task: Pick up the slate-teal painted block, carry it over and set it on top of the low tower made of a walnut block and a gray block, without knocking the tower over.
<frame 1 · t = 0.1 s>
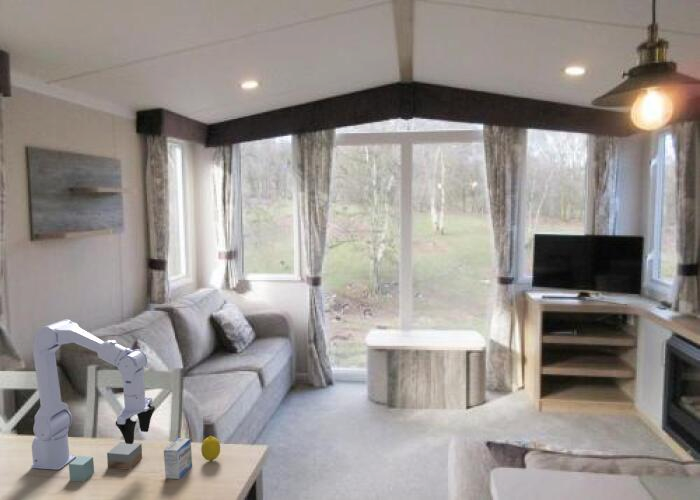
hand: (137, 437, 155), 10 cm above the table, tool pointing down, fingers open, 7 cm apart
medicine box: (179, 472, 155), on the table
gray block: (125, 455, 160), point 2 cm above the table, touching walnut block
walnut block: (125, 463, 161), on the table, touching gray block
lemon: (211, 461, 160), on the table
teal block: (82, 476, 153), on the table
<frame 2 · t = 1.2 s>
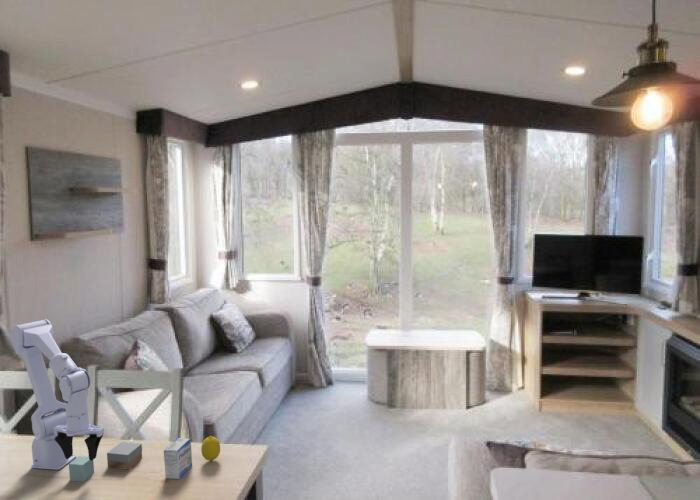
hand: (81, 458, 152), 6 cm above the table, tool pointing down, fingers open, 7 cm apart
gray block: (125, 456, 160), point 2 cm above the table
walnut block: (125, 464, 161), on the table
everything else where it was.
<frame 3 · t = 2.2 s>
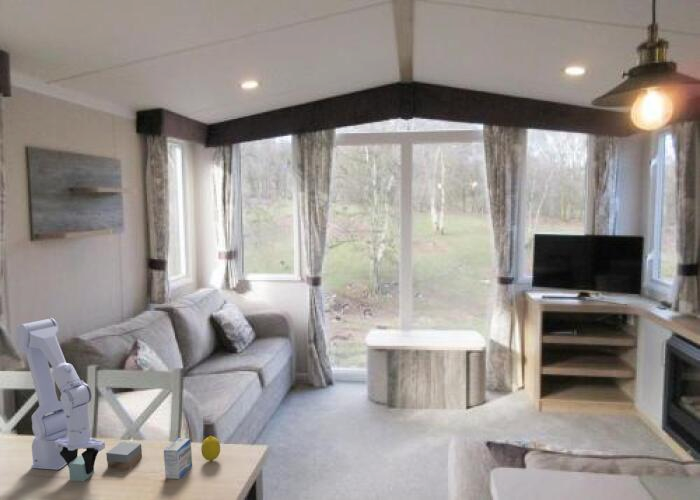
hand: (81, 471, 153), 1 cm above the table, tool pointing down, fingers closed on teal block, 4 cm apart
teal block: (82, 476, 153), on the table, touching gripper
everything else where it was.
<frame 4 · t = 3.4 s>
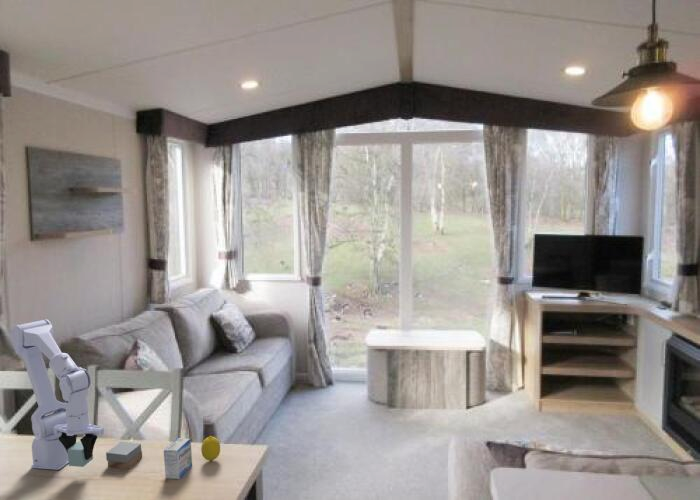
hand: (80, 457, 152), 6 cm above the table, tool pointing down, fingers closed on teal block, 4 cm apart
gray block: (124, 455, 160), point 2 cm above the table, touching walnut block
walnut block: (125, 463, 161), on the table, touching gray block
teal block: (81, 462, 152), point 4 cm above the table, touching gripper
everything else where it was.
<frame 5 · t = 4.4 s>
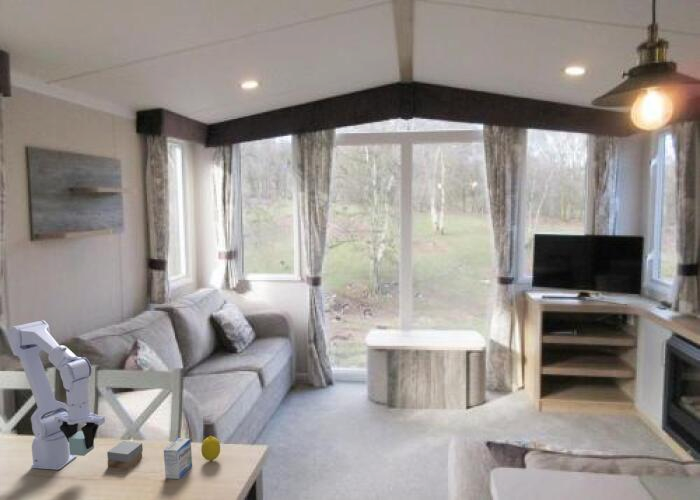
hand: (81, 446, 152), 9 cm above the table, tool pointing down, fingers closed on teal block, 4 cm apart
teal block: (82, 451, 152), point 7 cm above the table, touching gripper
everything else where it was.
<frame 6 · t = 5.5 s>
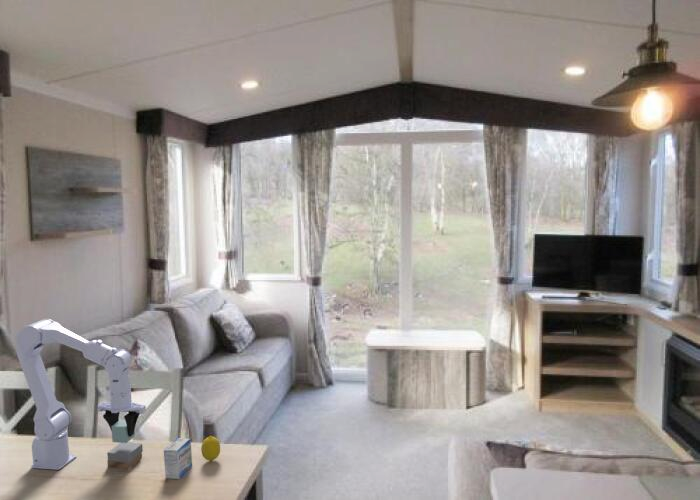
hand: (123, 434, 159), 9 cm above the table, tool pointing down, fingers closed on teal block, 4 cm apart
gray block: (125, 455, 160), point 2 cm above the table
walnut block: (125, 463, 161), on the table
teal block: (123, 439, 160), point 7 cm above the table, touching gripper
everything else where it was.
when the fingers open (8 cm above the table, at t = 6.5 s): teal block drops 2 cm, resting on gray block.
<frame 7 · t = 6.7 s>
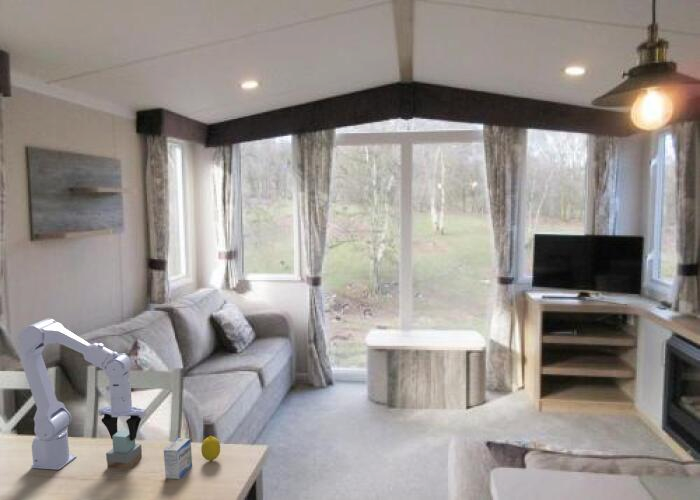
hand: (123, 438, 160), 8 cm above the table, tool pointing down, fingers open, 6 cm apart
gray block: (124, 456, 160), point 2 cm above the table, touching teal block, walnut block
walnut block: (125, 464, 161), on the table, touching gray block
teal block: (124, 448, 160), point 4 cm above the table, touching gray block
everything else where it was.
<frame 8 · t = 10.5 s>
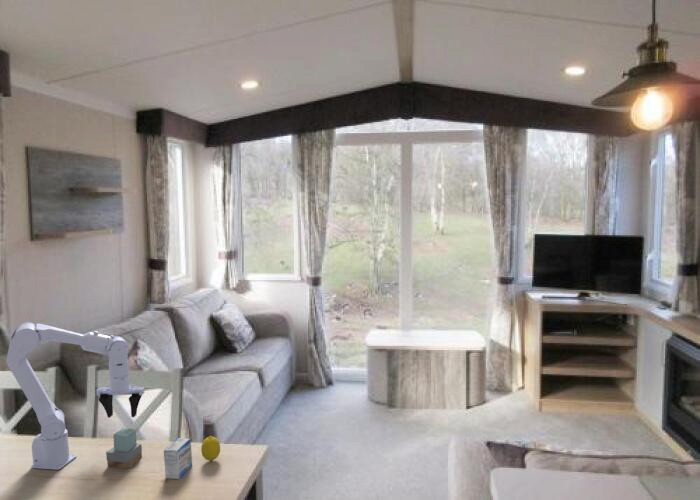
hand: (122, 416, 169), 10 cm above the table, tool pointing down, fingers open, 7 cm apart
gray block: (124, 455, 160), point 2 cm above the table, touching teal block
walnut block: (125, 463, 161), on the table
everything else where it was.
at the end: teal block 0.4 cm off-centre on the gray block, point 2.5 cm above the gray block's base; teal block tilted 0°; gray block moved 0.6 cm from its start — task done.
